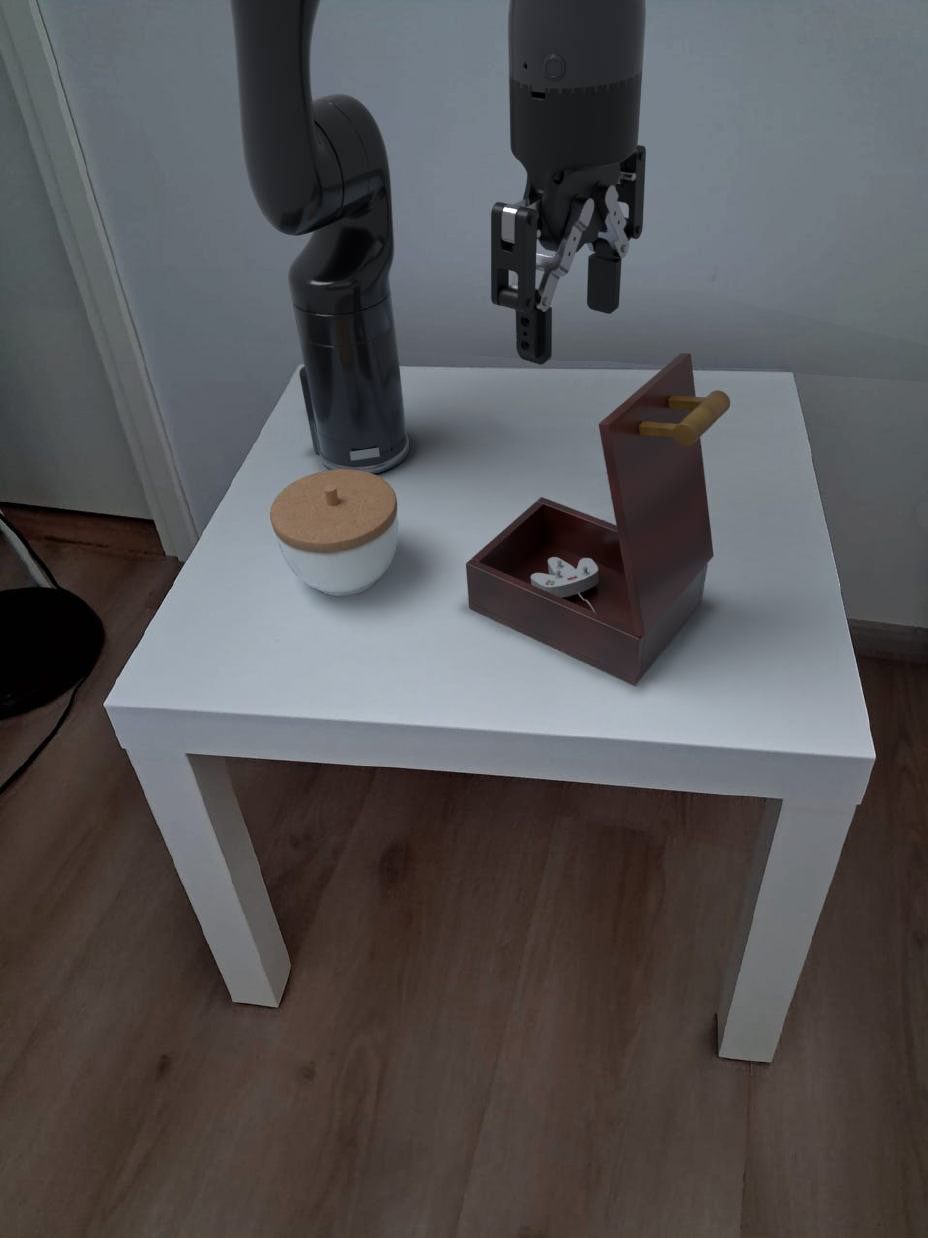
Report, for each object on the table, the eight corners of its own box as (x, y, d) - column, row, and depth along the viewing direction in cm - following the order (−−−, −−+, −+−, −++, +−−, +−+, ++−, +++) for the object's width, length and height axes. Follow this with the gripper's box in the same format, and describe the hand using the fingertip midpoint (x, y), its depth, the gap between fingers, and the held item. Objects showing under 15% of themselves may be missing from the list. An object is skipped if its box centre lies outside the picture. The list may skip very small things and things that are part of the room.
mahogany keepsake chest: (468, 608, 80) (465, 563, 76) (541, 541, 86) (541, 496, 83) (635, 686, 72) (639, 639, 69) (701, 606, 78) (708, 559, 75)
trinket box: (388, 620, 79) (374, 532, 73) (269, 608, 81) (246, 521, 75) (418, 542, 87) (408, 456, 81) (308, 533, 89) (290, 448, 83)
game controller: (567, 557, 83) (568, 534, 81) (667, 623, 76) (671, 599, 74) (519, 586, 80) (519, 563, 78) (619, 656, 74) (621, 632, 72)
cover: (597, 423, 59) (668, 429, 56) (680, 352, 66) (748, 354, 63) (635, 634, 69) (697, 649, 66) (704, 554, 75) (764, 564, 72)
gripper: (585, 31, 58) (578, 284, 69) (445, 87, 50) (462, 363, 61) (695, 41, 55) (669, 306, 66) (562, 104, 47) (558, 394, 58)
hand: (569, 333), depth 64 cm, fingers open, 8 cm apart
